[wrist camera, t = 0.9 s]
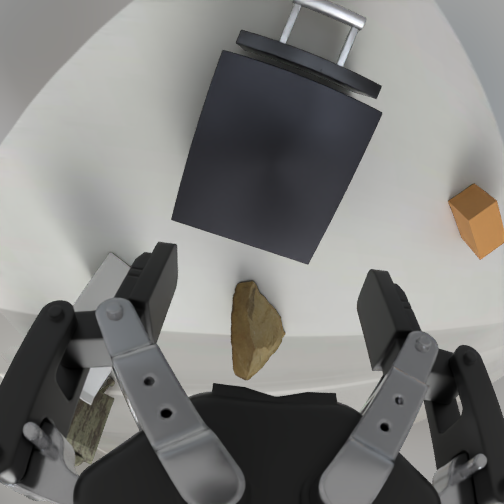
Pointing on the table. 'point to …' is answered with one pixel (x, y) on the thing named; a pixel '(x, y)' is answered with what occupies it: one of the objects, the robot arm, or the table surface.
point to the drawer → (309, 61)
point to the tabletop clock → (89, 425)
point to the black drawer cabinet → (271, 157)
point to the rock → (253, 330)
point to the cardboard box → (478, 220)
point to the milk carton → (93, 295)
